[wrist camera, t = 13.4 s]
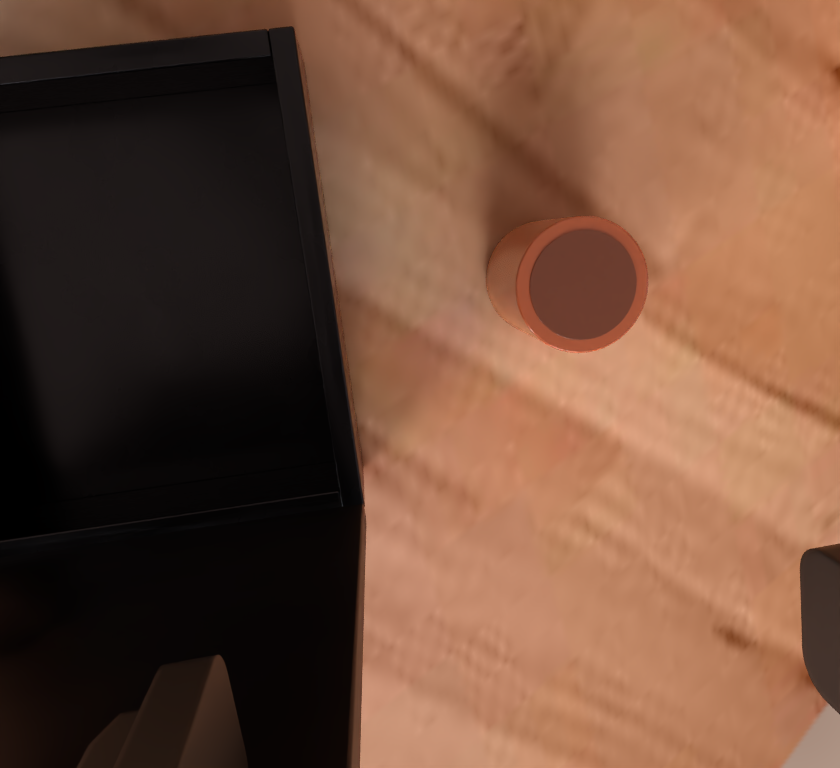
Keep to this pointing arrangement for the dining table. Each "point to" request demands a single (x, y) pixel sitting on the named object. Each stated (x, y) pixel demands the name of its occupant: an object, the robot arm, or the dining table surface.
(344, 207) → the dining table surface
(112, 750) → the robot arm
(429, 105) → the dining table surface
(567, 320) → the terracotta cup
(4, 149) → the black open box
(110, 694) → the lid
